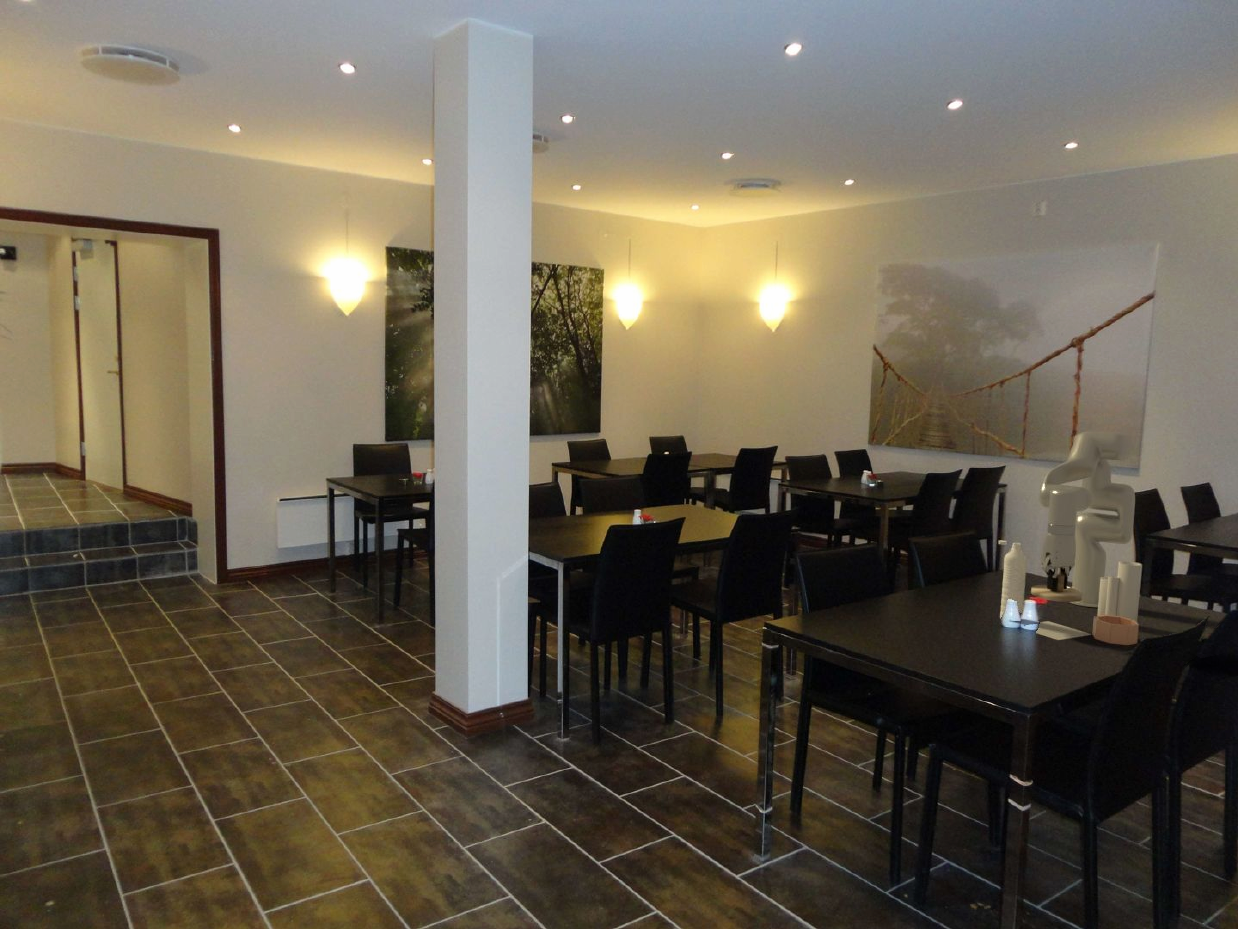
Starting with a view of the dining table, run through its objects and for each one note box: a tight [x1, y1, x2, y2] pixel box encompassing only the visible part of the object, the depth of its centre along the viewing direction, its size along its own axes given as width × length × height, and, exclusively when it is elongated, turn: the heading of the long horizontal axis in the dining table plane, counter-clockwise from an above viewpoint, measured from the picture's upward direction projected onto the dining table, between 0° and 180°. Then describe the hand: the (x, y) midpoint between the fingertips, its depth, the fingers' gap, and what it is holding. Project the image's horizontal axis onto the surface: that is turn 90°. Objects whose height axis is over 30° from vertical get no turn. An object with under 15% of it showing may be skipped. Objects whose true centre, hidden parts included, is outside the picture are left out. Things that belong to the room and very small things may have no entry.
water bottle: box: [998, 540, 1028, 619], centre depth 278 cm, size 9×6×25 cm
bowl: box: [1091, 615, 1140, 646], centre depth 259 cm, size 11×11×6 cm
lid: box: [1030, 572, 1083, 603], centre depth 265 cm, size 14×14×6 cm
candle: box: [1096, 560, 1143, 623], centre depth 276 cm, size 11×7×20 cm, turn 50°
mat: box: [1035, 620, 1093, 641], centre depth 266 cm, size 15×15×1 cm
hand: (1056, 588), depth 265 cm, fingers closed on lid, 3 cm apart
